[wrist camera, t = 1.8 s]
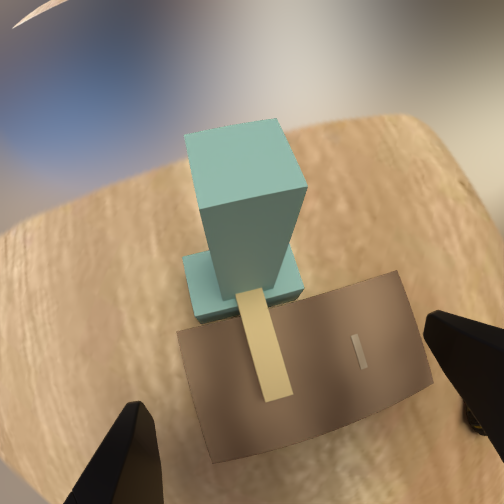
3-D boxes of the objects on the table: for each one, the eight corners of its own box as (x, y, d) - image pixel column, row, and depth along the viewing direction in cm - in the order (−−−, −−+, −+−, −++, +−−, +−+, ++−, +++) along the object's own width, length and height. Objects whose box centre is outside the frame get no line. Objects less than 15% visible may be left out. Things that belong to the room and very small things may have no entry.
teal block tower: (222, 406, 19) (185, 466, 6) (189, 271, 22) (128, 139, 9) (320, 378, 20) (440, 378, 7) (280, 249, 23) (320, 104, 10)
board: (215, 455, 17) (212, 464, 15) (182, 335, 20) (175, 331, 18) (419, 383, 19) (434, 383, 17) (385, 278, 22) (397, 269, 20)
